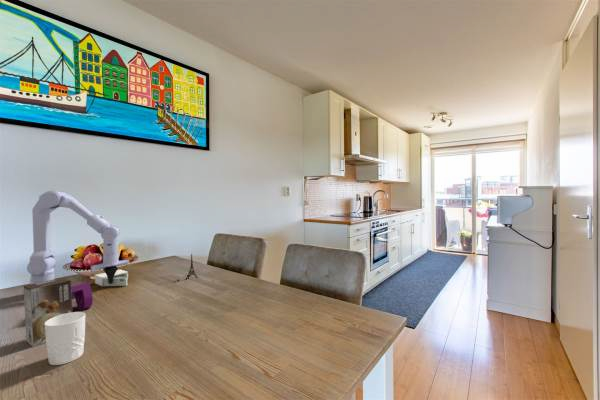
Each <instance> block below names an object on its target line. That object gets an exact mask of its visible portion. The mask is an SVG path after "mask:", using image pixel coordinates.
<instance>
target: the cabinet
mask: <svg viewBox="0 0 600 400" xmlns="http://www.w3.org/2000/svg"><path fill="white" fill-rule="evenodd" d="M102 278H108V277H107V275H106V273H105V272H102V273H98V274H94V284H96V285H98V286H100V287H102ZM113 278H127V281H128V280H129V271H128V270H127V271H126V270H123V269H118V270H117V271H116V273H115V275H114V277H113Z"/></svg>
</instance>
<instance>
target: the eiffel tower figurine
mask: <svg viewBox="0 0 600 400" xmlns="http://www.w3.org/2000/svg"><path fill="white" fill-rule="evenodd" d="M195 273H196V271H195V269H194V264H193V252H192V251H191V254H190V267H189V271H188V273H187V274H186V275H187V277H188V278H187V279H189V277H190V276H195V277H196V278H197V279H199V277H197V276H198V275H197V273H196V274H195ZM196 275H197V276H196ZM187 279H186V280H187Z"/></svg>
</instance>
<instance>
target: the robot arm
mask: <svg viewBox="0 0 600 400" xmlns="http://www.w3.org/2000/svg"><path fill="white" fill-rule="evenodd" d="M57 208H65V209H70V210H72V211H73V212H75V213H76V214H78V215H79V216H80V217H82V218H83V219H85V220H86V224H87V226H89V227H90V228H92V229H93V230H95V231H96V232H97V233H99V234H100V236H101V238H102V239H103V241H102V242H103V243H102V245H103V246H102V252H103V253H102V262H101V263H98V264H93V265H90V271H97V270H98V271H99V270H103V272H104V273H106V275H107V277H108V283H109V284H112V283H113V277H114V275H115V273H116V271H117V270H119V268H118V267H119V266H126V265H130V260H129V259H123V260H119V257H120V256H119V253H120V252H119V251H120V250H119V246H120V245H119V236H120V233H121V232H120V228H119V227H118V226H116V225H114V224H113V223H112V222H111V223H110V222H109V221H108V220H106V219H105V216H103V215H100V214H94V213H92V211H90V210H89V209H88V208H87V207H85V206H84V205H83V204H81V203H80V202H79V201H78V200H77V199H76V198H75V197H73V196H72V195H70V194H69V193H67V192H66V191H58V190H57V191H54V190H47V191H45V192H44V193H42V194H41V195H39V196H38V200H37V202H36V203H35V205H34V206H33V207H32V213H31V214H32V236H33V237H32V239H33V241H32V242H33V243H32V245H33V252H32V253H31V255H30V256H29V262H28V264H27V266H26V271H27V272H28V273H29V274H30V278H29V285H30V284H35V283H39V282H44V281H49V280H54V279H56V278H55V275H56V274H55V267H56V266H57V264H58V260H57V258H56V257H55V252H54V251H53V250H52V238H51V236H52V235H51V213H52V212H54V211H55V210H57Z"/></svg>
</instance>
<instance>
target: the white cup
mask: <svg viewBox="0 0 600 400" xmlns="http://www.w3.org/2000/svg"><path fill="white" fill-rule="evenodd" d="M44 325H45V336H46V343H45V345H46V352H47V358H48V359H47V360H48V364H50V366H60V365H64V364H65V365H66V364H68V363H71V362H73V361H75V360H77V359H79V358H81V356H83V354H84V351H85V350H84V349H85V339H86V313H85V312H83V311H74V312H73V311H72V313H66V314H62V315H59V316H56V317H53V318H51V319H49V320H47V321H46V322H45V323H44Z"/></svg>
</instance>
